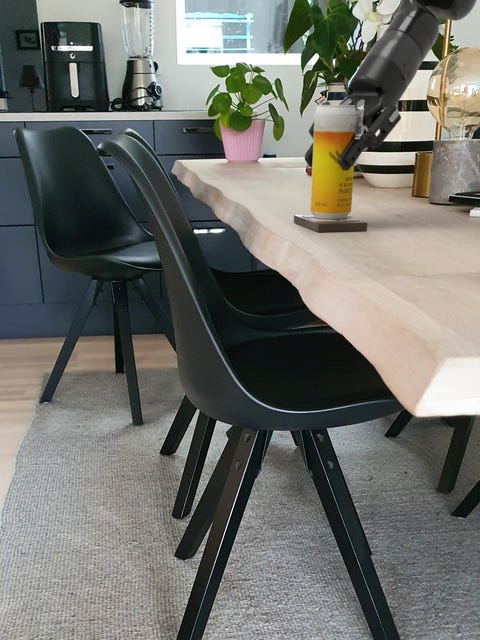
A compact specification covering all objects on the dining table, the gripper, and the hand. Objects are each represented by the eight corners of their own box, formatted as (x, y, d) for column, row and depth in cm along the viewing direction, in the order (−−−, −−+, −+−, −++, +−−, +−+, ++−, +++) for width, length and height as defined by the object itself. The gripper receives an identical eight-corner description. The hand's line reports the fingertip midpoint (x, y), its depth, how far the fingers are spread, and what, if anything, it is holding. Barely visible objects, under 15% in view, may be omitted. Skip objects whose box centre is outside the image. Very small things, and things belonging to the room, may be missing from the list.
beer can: (346, 220, 116) (353, 105, 109) (305, 218, 118) (310, 105, 111) (354, 215, 121) (361, 105, 115) (315, 213, 123) (320, 104, 116)
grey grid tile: (293, 222, 124) (294, 213, 123) (339, 221, 126) (339, 212, 125) (318, 232, 115) (318, 222, 114) (367, 231, 116) (367, 221, 116)
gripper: (338, 54, 119) (278, 143, 117) (415, 50, 109) (351, 147, 108) (358, 94, 125) (301, 180, 123) (434, 94, 115) (373, 187, 113)
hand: (325, 164), depth 115 cm, fingers closed on beer can, 6 cm apart
